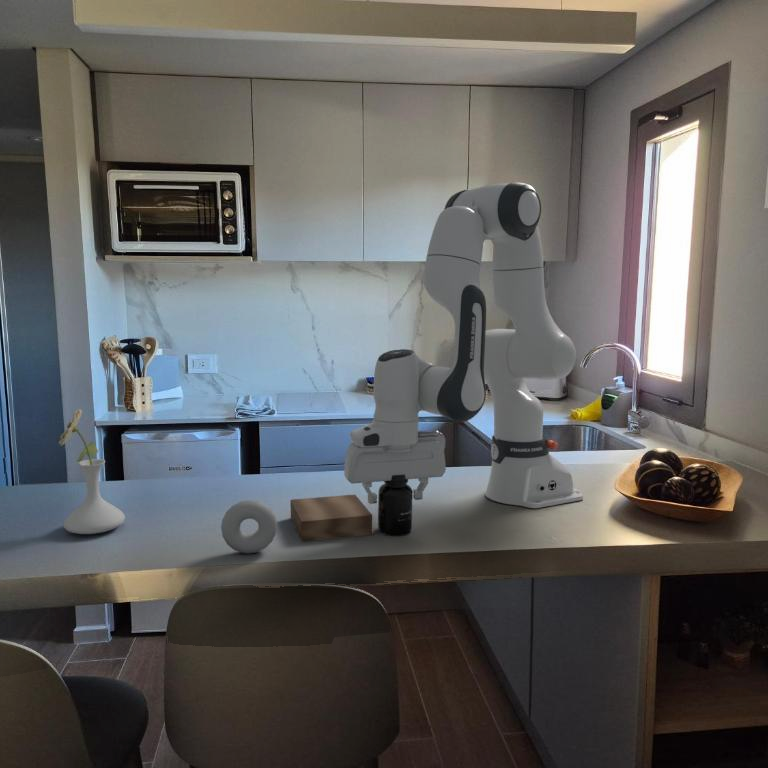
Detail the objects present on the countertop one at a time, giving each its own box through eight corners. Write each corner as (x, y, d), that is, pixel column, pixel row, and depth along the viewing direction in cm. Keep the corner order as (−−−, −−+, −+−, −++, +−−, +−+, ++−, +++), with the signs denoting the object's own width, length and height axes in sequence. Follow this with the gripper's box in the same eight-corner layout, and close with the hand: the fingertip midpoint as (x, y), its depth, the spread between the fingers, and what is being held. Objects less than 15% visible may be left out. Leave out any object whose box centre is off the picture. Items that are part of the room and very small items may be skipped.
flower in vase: (86, 518, 141) (79, 400, 138) (136, 521, 139) (130, 402, 136) (45, 540, 128) (36, 411, 125) (100, 544, 127) (93, 413, 123)
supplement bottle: (409, 538, 131) (409, 478, 129) (374, 535, 132) (374, 476, 131) (414, 526, 138) (415, 469, 136) (381, 523, 139) (382, 467, 137)
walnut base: (355, 512, 146) (355, 494, 145) (372, 534, 133) (372, 515, 132) (290, 518, 142) (290, 499, 141) (301, 541, 129) (301, 521, 128)
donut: (221, 558, 120) (219, 504, 119) (222, 551, 124) (220, 498, 122) (277, 554, 122) (276, 501, 121) (277, 547, 126) (276, 496, 124)
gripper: (439, 427, 138) (438, 492, 140) (342, 432, 132) (342, 500, 134) (451, 433, 132) (449, 501, 134) (349, 439, 126) (349, 510, 128)
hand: (395, 500), depth 134 cm, fingers open, 8 cm apart
